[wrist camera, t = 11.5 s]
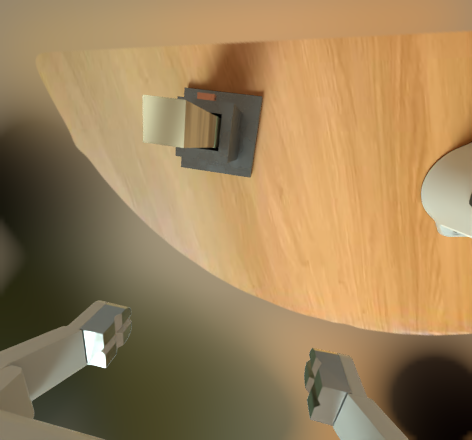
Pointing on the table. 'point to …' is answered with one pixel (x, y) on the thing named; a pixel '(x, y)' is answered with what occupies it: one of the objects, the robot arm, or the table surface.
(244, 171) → the jack sleeve
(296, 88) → the table surface
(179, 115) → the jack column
